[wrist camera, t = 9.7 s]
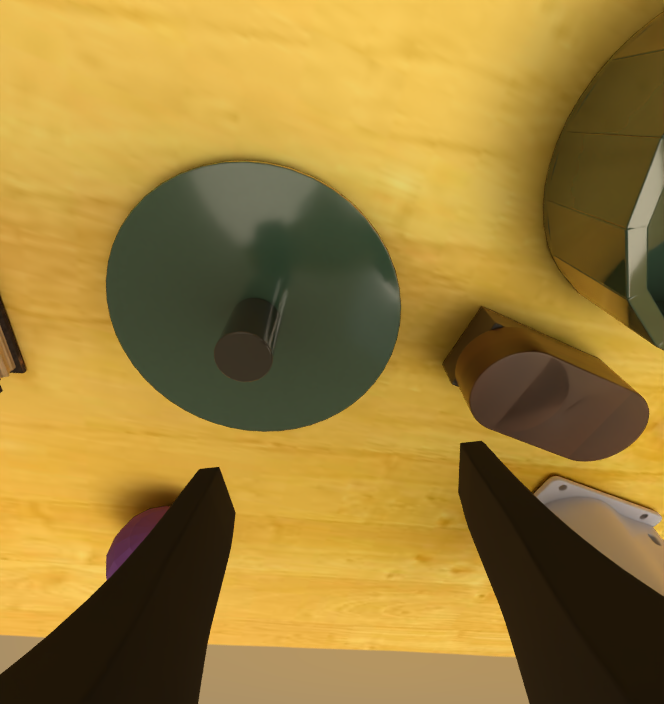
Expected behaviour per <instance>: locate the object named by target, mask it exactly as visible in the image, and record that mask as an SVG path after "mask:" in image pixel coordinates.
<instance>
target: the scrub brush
mask: <svg viewBox="0 0 664 704" xmlns="http://www.w3.org/2000/svg"><path fill="white" fill-rule="evenodd" d="M442 365H443V367H444V369H445V371H446V373H447V375H448V377H449V379H450V382H451V384H452V385H455V386H457V387H459V388H460V390H461V392H462V394H463V396H464V398H465V400H466V402H467V405H468V407H469V409H470V411H471V413H472V414H473V416H474V418H475V419H476V420H477V421H478V422H479V423H480V424H481V425H483V426H484V427H486V428H488V429H491V430H494V431H496V432H499V433H501V434H504V435H507V436H509V437H512V438H515V439H517V440H520V441H523V442H525V443H528V444H531V445H533V446H536V447H539V448H541V449H544V450H547V451H549V452H552V453H555V454H557V455H560V456H563V457H565V458H568V459H571V460H575V461H596V460H600V459H604V458H607V457H610V456H612V455H615V454H617V453H619V452H621V451H622V450H624V449H626V448H627V447H628V446H630V445H631V444H632V443H633V442H635V440H636V439H637V438H638V437H639V436H640V435H641V434H642V432H643V431H644V429H645V427H646V425H647V423H648V419H649V408H648V405H647V403H646V401H645V399H644V398H643V397H642V396H641V395H640V394H639V393H638V392H636V391H635V390H634V389H633V388H632V387H631V386H630V385H628V384H627V383H626V382H625V381H624V380H623V379H622V378H621V377H619V376H618V375H617V374H616V373H615V372H614V371H613V370H611V369H610V368H609V367H608V366H607V365H606V364H605V363H603V362H602V361H601V360H600V359H598V358H596V357H594V356H591V355H589V354H587V353H585V352H583V351H580V350H578V349H576V348H574V347H571V346H569V345H567V344H565V343H563V342H560V341H558V340H556V339H554V338H552V337H549V336H547V335H545V334H543V333H540V332H538V331H536V330H534V329H532V328H529V327H527V326H525V325H523V324H521V323H518V322H516V321H514V320H512V319H510V318H507V317H505V316H503V315H501V314H498V313H496V312H494V311H492V310H490V309H487V308H485V307H483V306H482V307H481V308H480V309H479V311H478V312H477V314H476V315H475V317H474V318H473V320H472V321H471V323H470V324H469V326H468V327H467V329H466V330H465V331H464V333H463V334H462V336H461V337H460V339H459V340H458V342H457V343H456V345H455V346H454V348H453V349H452V351H451V352H450V353H449V355H448V356H447V358H446V359H445V361H444V362H443V364H442Z"/></svg>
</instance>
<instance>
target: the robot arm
mask: <svg viewBox="0 0 664 704" xmlns="http://www.w3.org/2000/svg"><path fill="white" fill-rule="evenodd" d="M458 493H459V496H460V500H461V504H462V507H463V511H464V515H465V518H466V522H467V525H468V528H469V530H470V533H471V536H472V538H473V541H474V543H475V546H476V548H477V551H478V553H479V556H480V558H481V561H482V563H483V566H484V568H485V571H486V573H487V576H488V578H489V581H490V583H491V586H492V588H493V591H494V593H495V595H496V598H497V600H498V603H499V606H500V608H501V611H502V614H503V617H504V620H505V622H506V626H507V629H508V632H509V636H510V639H511V642H512V645H513V649H514V652H515V655H516V659H517V662H518V665H519V669H520V672H521V675H522V679H523V682H524V686H525V689H526V693H527V696H528V699H529V703H530V704H664V540H663V539H662V538H661V537H660V535H659V534H658V533H657V532H656V530H655V529H654V528H653V527H654V526H655V525H657V524H658V523H659V522H660V521H661V519H662V517H661V516H660V514H659V513H658V512H656V511H653V510H650V509H648V508H645V507H642V506H639V505H636V504H634V503H631V502H628V501H625V500H623V499H620V498H617V497H614V496H612V495H609V494H606V493H603V492H601V491H598V490H595V489H592V488H590V487H587V486H584V485H581V484H579V483H576V482H573V481H570V480H568V479H565V478H562V477H559V476H553V477H550V478H549V479H548V480H547V481H546V482H545V483H544V484H543V485H542V486H541V487H540V488H539V489H538V490H537V491H536V492H535V493H534V494H533V493H532V492H530V491H529V490H528V489H527V488H526V487H525V486H524V485H523V484H522V483H521V482H520V481H519V480H518V479H517V478H516V477H515V476H514V475H513V474H512V472H511V471H510V470H509V469H508V468H507V467H506V466H505V465H504V464H503V463H502V462H501V461H500V460H499V459H498V458H497V457H496V455H495V454H494V453H493V452H492V451H491V450H490V449H489V448H488V447H487V445H486V444H485V443H483V442H482V441H476V442H466V443H460V463H459V489H458ZM234 521H235V510H234V507H233V504H232V502H231V499H230V496H229V493H228V490H227V488H226V485H225V482H224V479H223V476H222V474H221V471H220V468H219V467H215V468H205V469H199V470H198V471H197V473H196V474H195V475H194V477H193V478H192V479H191V480H190V482H189V483H188V484H187V486H186V487H185V488H184V490H183V491H182V492H181V493H180V495H179V496H178V497H177V499H176V500H175V501H174V503H173V504H172V505H171V506H170V508H169V509H168V510H167V512H166V513H165V514H164V515H163V517H162V518H161V519H160V520H159V522H158V523H157V524H156V525H155V527H154V528H153V529H152V530H151V532H150V533H149V534H148V535H147V536H146V537H145V539H144V540H143V541H142V542H141V543H140V544H139V546H138V547H137V548H136V549H135V550H134V551H133V552H132V554H131V555H130V556H129V557H128V558H127V559H126V561H125V562H124V563H123V564H122V565H121V566H120V567H119V568H118V569H117V570H116V571H115V572H114V574H113V575H112V576H111V577H110V578H109V579H108V580H107V581H106V582H105V583H104V584H103V585H102V586H101V587H100V588H99V589H98V590H97V591H96V592H95V593H94V594H93V595H92V596H91V597H90V598H89V599H88V600H87V601H86V602H84V603H83V604H82V605H81V606H80V607H79V608H78V609H77V610H76V611H75V612H73V613H72V614H71V615H70V616H69V617H68V618H67V619H66V620H65V621H64V622H62V623H61V624H60V625H59V626H58V627H57V628H56V629H55V630H54V631H53V632H51V633H50V634H49V635H48V636H47V637H46V638H44V639H43V640H42V641H41V642H40V643H38V644H37V645H36V646H35V647H34V648H33V649H32V650H30V651H29V652H28V653H26V654H25V655H24V656H23V657H22V658H20V659H19V660H18V661H17V662H15V663H14V664H13V665H12V666H10V667H9V668H8V669H7V670H5V671H4V672H3V673H2V674H0V704H198V699H199V693H200V686H201V680H202V674H203V667H204V661H205V655H206V649H207V643H208V639H209V634H210V629H211V625H212V621H213V617H214V613H215V609H216V605H217V601H218V597H219V594H220V590H221V586H222V582H223V578H224V574H225V570H226V566H227V562H228V558H229V554H230V549H231V544H232V537H233V530H234Z"/></svg>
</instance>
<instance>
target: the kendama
mask: <svg viewBox="0 0 664 704" xmlns="http://www.w3.org/2000/svg"><path fill="white" fill-rule="evenodd" d="M169 508H170V507H169V506H163V507H157V508H152V509H148V510H146V511H144V512H142V513H141V514H139V515H137V516H135V517H133V518H132V519H131V520H130V521H129V522H128V523H127V524H126V525H125V526H124V527H123V528H122V529H121V531H120V532H119V533H118V534H117V535H116V537H115V538H114V540H113V543H112V545H111V547H110V549H109V551H108V553H107V558H106V578H107V580H108V579H109V578H110V577H111V576H112V575H113V574H114V572H115V571H116V570H117V569H118V568H119V567H120V566H121V565H122V564H123V563H124V562H125V561H126V559H127V558H128V557H129V556H130V555H131V554H132V552H133V551H134V550H135V549H136V548H137V547H138V546H139V544H140V543H141V542H142V541H143V540H144V539H145V537H146V536H147V535H148V534H149V533H150V532H151V530H152V529H153V528H154V527H155V525H156V524H157V523H158V522H159V520H160V519H161V518H162V517H163V515H164V514H165V513H166V512H167V510H168V509H169Z"/></svg>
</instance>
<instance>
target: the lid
mask: <svg viewBox="0 0 664 704" xmlns="http://www.w3.org/2000/svg"><path fill="white" fill-rule="evenodd" d="M106 294H107V303H108V309H109V314H110V318H111V321H112V324H113V327H114V330H115V333H116V336H117V338H118V340H119V342H120V344H121V346H122V348H123V350H124V352H125V353H126V355H127V356H128V358H129V359H130V361H131V362H132V364H133V365H134V367H135V368H136V369H137V370H138V371H139V373H140V374H141V375H142V376H143V378H144V379H145V380H146V381H147V382H149V383H150V384H151V385H152V386H153V387H154V388H155V389H156V390H157V391H158V392H159V393H161V394H162V395H163V396H164V397H166V398H167V399H168V400H169V401H171V402H173V403H174V404H176V405H177V406H179V407H180V408H182V409H184V410H185V411H187V412H189V413H191V414H193V415H195V416H197V417H199V418H202V419H205V420H207V421H210V422H213V423H215V424H219V425H223V426H226V427H230V428H235V429H241V430H247V431H262V432H266V431H284V430H291V429H297V428H301V427H305V426H309V425H312V424H315V423H318V422H320V421H323V420H326V419H328V418H330V417H332V416H334V415H336V414H338V413H340V412H341V411H343V410H344V409H346V408H347V407H349V406H350V405H352V404H353V403H354V402H356V401H357V400H358V399H359V398H360V397H361V396H363V395H364V394H365V393H366V392H367V391H368V389H369V388H370V387H371V386H372V385H373V384H374V383H375V382H376V380H377V379H378V377H379V376H380V374H381V373H382V372H383V370H384V368H385V366H386V365H387V363H388V361H389V359H390V357H391V355H392V352H393V349H394V346H395V343H396V340H397V336H398V331H399V326H400V315H401V300H400V289H399V284H398V280H397V276H396V271H395V268H394V266H393V263H392V261H391V258H390V255H389V253H388V251H387V249H386V247H385V245H384V243H383V241H382V240H381V238H380V236H379V234H378V233H377V231H376V230H375V228H374V227H373V226H372V225H371V223H370V222H369V221H368V219H367V218H366V217H365V215H364V214H363V213H362V212H361V211H360V210H359V209H358V208H357V207H356V206H355V205H354V204H353V203H352V202H351V201H350V200H348V199H347V198H346V197H344V196H343V195H342V194H340V193H339V192H338V191H336V190H335V189H334V188H332V187H331V186H329V185H327V184H325V183H324V182H322V181H320V180H318V179H317V178H315V177H313V176H311V175H308V174H306V173H303V172H301V171H298V170H296V169H293V168H290V167H286V166H282V165H278V164H274V163H269V162H259V161H250V160H242V161H223V162H218V163H213V164H207V165H203V166H200V167H197V168H194V169H191V170H188V171H185V172H183V173H180V174H178V175H176V176H175V177H173V178H171V179H169V180H167V181H165V182H163V183H162V184H160V185H159V186H158V187H156V188H155V189H154V190H152V191H151V192H150V193H149V194H147V195H146V196H145V197H144V198H143V199H142V200H141V201H140V202H139V203H138V204H137V205H136V206H135V207H134V209H133V210H132V211H131V212H130V214H129V215H128V217H127V218H126V220H125V221H124V223H123V224H122V226H121V227H120V229H119V232H118V234H117V236H116V238H115V240H114V243H113V245H112V249H111V253H110V256H109V260H108V266H107V276H106Z"/></svg>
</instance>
